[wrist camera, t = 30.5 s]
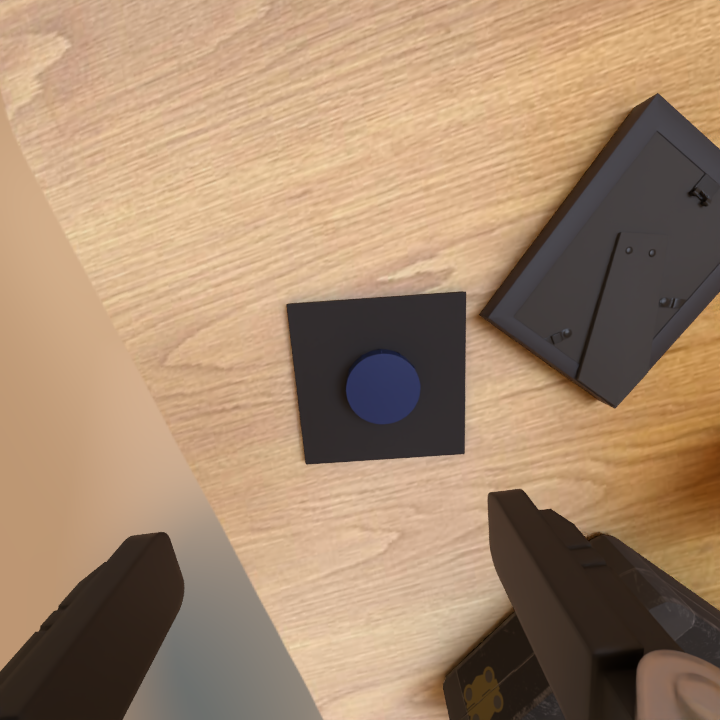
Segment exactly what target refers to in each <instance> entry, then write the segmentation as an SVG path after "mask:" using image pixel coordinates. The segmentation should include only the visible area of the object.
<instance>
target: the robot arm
mask: <svg viewBox="0 0 720 720" xmlns="http://www.w3.org/2000/svg"><path fill="white" fill-rule="evenodd" d="M488 520H489V543H490V551H491V556H492V560H493V563H494V566H495V569H496V572H497V574H498V576H499V578H500V581H501V583H502V585H503V587H504V589H505V591H506V593H507V595H508V598H509V600H510V602H511V604H512V606H513V608H514V610H515V613H516V615H517V617H518V619H519V621H520V623H521V625H522V627H523V630H524V632H525V634H526V636H527V638H528V640H529V642H530V645H531V647H532V649H533V651H534V653H535V655H536V657H537V659H538V662H539V664H540V666H541V668H542V670H543V672H544V674H545V677H546V679H547V681H548V683H549V685H550V687H551V689H552V691H553V694H554V696H555V698H556V700H557V702H558V704H559V706H560V709H561V711H562V713H563V715H564V717H565V719H566V720H720V669H719V668H718V667H716V666H714V665H713V664H711V663H709V662H707V661H705V660H702V659H700V658H698V657H696V656H693V655H690V654H687V653H686V652H684V651H683V649H682V648H681V647H680V646H679V645H678V644H677V643H676V642H675V641H674V640H673V639H672V637H671V636H670V635H669V634H668V633H667V632H666V630H665V629H664V628H663V627H662V626H661V625H660V624H659V622H658V621H657V620H656V619H655V618H654V617H653V615H652V614H651V613H650V612H649V611H648V610H647V608H646V607H645V606H644V605H643V604H642V603H641V602H640V600H639V599H638V598H637V597H636V596H635V595H634V593H633V592H632V591H631V590H630V589H629V588H628V586H627V585H626V584H625V583H624V582H623V581H622V579H621V578H620V577H619V576H618V575H617V574H616V573H615V571H614V570H613V569H612V568H611V567H610V566H607V564H606V561H605V560H604V559H603V557H602V556H601V555H600V554H599V553H598V552H597V551H596V549H595V548H592V547H591V544H590V542H589V541H588V540H587V539H586V538H585V537H584V535H583V534H582V533H581V532H580V531H579V530H578V528H577V527H576V526H575V525H574V524H573V523H571V522H570V521H568V520H567V519H565V518H564V517H562V516H561V515H559V514H558V513H556V512H555V511H553V510H552V509H546V510H538V509H537V507H536V506H535V505H534V503H533V502H532V501H531V500H530V498H529V497H528V496H527V494H526V493H525V492H524V491H523V490H522V489H514V490H506V491H498V492H490V493H489V494H488ZM183 596H184V580H183V577H182V573H181V570H180V567H179V565H178V561H177V559H176V555H175V552H174V549H173V546H172V543H171V541H170V538H169V536H168V535H167V534H166V533H164V532H158V533H150V534H142V535H134V536H130V537H129V538H127V539H126V540H125V541H124V542H123V543H122V544H121V546H120V547H119V548H118V549H117V550H116V551H115V553H114V554H113V555H112V556H111V557H110V559H109V560H108V561H107V562H104V563H103V564H102V565H101V566H99V567H98V568H97V569H96V570H94V571H93V572H92V573H91V574H89V575H88V576H87V577H86V578H84V579H83V580H82V581H81V582H79V583H78V585H77V586H76V587H75V588H74V589H73V590H72V591H71V592H70V594H69V595H68V596H67V597H66V598H65V599H64V600H63V601H62V603H61V604H60V605H59V608H58V610H57V611H54V612H53V613H52V614H51V615H50V616H49V617H48V619H46V621H45V622H44V623H43V624H42V625H41V627H40V630H39V632H35V633H34V634H33V635H32V636H31V638H30V639H29V640H28V641H27V642H26V643H25V644H24V645H23V647H22V648H21V649H20V650H19V651H18V652H17V653H16V654H15V656H14V657H13V658H12V659H11V660H10V661H9V662H8V663H7V665H6V666H5V667H4V668H3V669H2V670H1V671H0V720H123V718H124V716H125V714H126V712H127V710H128V708H129V706H130V704H131V702H132V700H133V698H134V696H135V694H136V693H137V691H138V689H139V687H140V685H141V683H142V681H143V679H144V677H145V675H146V673H147V671H148V670H149V668H150V666H151V664H152V662H153V660H154V658H155V656H156V654H157V652H158V650H159V648H160V646H161V645H162V642H163V641H164V639H165V637H166V635H167V633H168V631H169V629H170V627H171V625H172V623H173V621H174V619H175V618H176V615H177V614H178V612H179V610H180V607H181V605H182V601H183Z"/></svg>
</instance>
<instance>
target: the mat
mask: <svg viewBox="0 0 720 720" xmlns="http://www.w3.org/2000/svg"><path fill="white" fill-rule="evenodd" d="M287 313H288V321H289V329H290V338H291V346H292V354H293V362H294V371H295V379H296V387H297V396H298V404H299V412H300V421H301V429H302V437H303V446H304V454H305V462H306V464H320V463H335V462H350V461H365V460H380V459H395V458H410V457H425V456H440V455H455V454H464V453H465V343H466V292H448V293H434V294H420V295H405V296H391V297H377V298H362V299H348V300H334V301H319V302H305V303H290V304H287ZM380 349H385V350H391V351H395V352H397V353H398V352H399V353H400V354H401V355H403V356H404V357H405V358H406V359H407V360H408V361H409V362H410V363H411V364H413V366H414V367H415V371H416V373H417V375H418V377H419V381H420V386H421V387H420V396H419V399H418V402H417V404H416V406H415V407H414V409H413V410H412V411H411V412H410V413H409V414H408V415H407V416H406V417H404V418H403V419H401V420H399V421H397V422H394V423H390V424H375V423H371V422H368V421H366V420H364V419H362V418H361V417H359V416H358V415H357V414H356V413H355V412H354V411H353V410H352V408H351V406H350V405H349V402H348V400H347V395H346V391H345V386H346V382H347V376H348V372H349V368H351V366H352V365H353V364H354V362H355V361H356V360H357V359H358V358H359V357H361V355H362V354H363V355H364V354H366V353H368V352H370V351H374V350H380Z"/></svg>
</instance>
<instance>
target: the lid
mask: <svg viewBox="0 0 720 720" xmlns="http://www.w3.org/2000/svg"><path fill="white" fill-rule="evenodd" d="M420 387H421V386H420V381H419V377H418V375H417V373H416V371H415V367H414V366H413V364H411V363H410V362H409V361H408V360H407V359H406V358H405V357H404V356H403V355H401V354H400V353H399V352H398V353H397V352H395V351H391V350H385V349H380V350H374V351H370V352H368V353H366V354H364V355H363V354H362V355H361V357H359V358H358V359H357V360H356V361H355V362H354V364H353V365H352V366H351V368H349V372H348V376H347V382H346V386H345V391H346V395H347V400H348V402H349V405H350V406H351V408H352V410H353V411H354V412H355V413H356V414H357V415H358V416H359V417H361V418H362V419H364V420H366V421H368V422H371V423H375V424H390V423H394V422H397V421H399V420H401V419H403V418H404V417H406V416H407V415H408V414H409V413H410V412H411V411H412V410H413V409H414V407H415V406H416V404H417V402H418V399H419V396H420Z"/></svg>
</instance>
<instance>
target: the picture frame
mask: <svg viewBox="0 0 720 720" xmlns="http://www.w3.org/2000/svg"><path fill="white" fill-rule="evenodd" d="M719 292H720V149H719V148H718V147H717V146H715V145H714V144H713V143H712V142H711V141H710V140H709V139H708V138H707V137H706V136H704V135H703V134H702V133H701V132H700V131H699V130H698V129H697V128H696V127H695V126H693V125H692V124H691V123H690V122H689V121H688V120H687V119H686V118H685V117H684V116H682V115H681V114H680V113H679V112H678V111H677V110H676V109H675V108H674V107H673V106H671V105H670V104H669V103H668V102H667V101H666V100H665V99H664V98H663V97H662V96H660V95H659V94H658V93H657V94H656V95H654V96H652V97H651V98H649V99H647V100H646V101H644V102H642V103H641V104H639V105H637V106H636V107H634V109H633V110H632V111H631V113H630V114H629V115H628V117H627V118H626V119H625V121H624V122H623V123H622V125H621V126H620V127H619V129H618V130H617V131H616V133H615V134H614V135H613V137H612V138H611V139H610V141H609V142H608V143H607V145H606V146H605V147H604V149H603V150H602V151H601V153H600V154H599V155H598V157H597V158H596V159H595V161H594V162H593V163H592V165H591V166H590V167H589V169H588V170H587V171H586V173H585V174H584V175H583V177H582V178H581V179H580V181H579V182H578V183H577V185H576V186H575V187H574V189H573V190H572V191H571V193H570V194H569V195H568V197H567V198H566V200H565V201H564V202H563V204H562V205H561V206H560V208H559V209H558V210H557V212H556V213H555V214H554V216H553V217H552V218H551V220H550V221H549V222H548V224H547V225H546V226H545V228H544V229H543V230H542V232H541V233H540V234H539V236H538V237H537V238H536V240H535V241H534V242H533V244H532V245H531V246H530V248H529V249H528V250H527V252H526V253H525V254H524V256H523V257H522V258H521V260H520V261H519V262H518V264H517V265H516V266H515V268H514V269H513V270H512V272H511V273H510V274H509V276H508V277H507V278H506V280H505V281H504V282H503V284H502V285H501V286H500V288H499V289H498V290H497V292H496V293H495V294H494V296H493V297H492V298H491V300H490V301H489V302H488V304H487V305H486V306H485V308H484V309H483V310H482V312H481V313H480V314H479V315H480V316H481V317H483V318H484V319H485V320H487V321H488V322H490V323H491V324H492V325H494V326H495V327H497V328H498V329H499V330H501V331H502V332H504V333H505V334H507V335H508V336H509V337H511V338H512V339H514V340H515V341H516V342H518V343H519V344H521V345H522V346H523V347H525V348H526V349H528V350H529V351H530V352H532V353H533V354H535V355H536V356H537V357H539V358H540V359H542V360H543V361H544V362H546V363H547V364H549V365H550V366H552V367H553V368H554V369H556V370H557V371H559V372H560V373H561V374H563V375H564V376H566V377H567V378H568V379H570V380H571V381H573V382H574V383H575V384H577V385H578V386H580V387H581V388H582V389H584V390H585V391H587V392H588V393H589V394H591V395H592V396H594V397H595V398H597V399H598V400H599V401H601V402H603V403H605V404H607V405H609V406H611V407H613V408H616V407H617V406H618V405H619V404H620V403H621V402H622V400H623V399H624V398H625V397H626V396H627V395H628V394H629V393H630V392H631V391H632V390H633V388H634V387H635V386H636V385H637V384H638V383H639V382H640V381H641V380H642V379H643V377H644V376H645V375H646V374H647V373H648V371H649V370H650V369H651V368H652V367H653V366H654V364H655V363H656V362H657V361H658V360H659V359H660V358H661V357H662V356H663V354H664V353H665V352H666V351H667V350H668V349H669V348H670V347H671V345H672V344H673V343H674V342H675V341H676V340H677V339H678V338H679V337H680V335H681V334H682V333H683V332H684V331H685V330H686V329H687V328H688V327H689V325H690V324H691V323H692V322H693V321H694V320H695V319H696V318H697V316H698V315H699V314H700V313H701V312H702V311H703V310H704V309H705V308H706V306H707V305H708V304H709V303H710V302H711V301H712V300H713V299H714V298H715V296H716V295H717V294H718V293H719Z"/></svg>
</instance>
